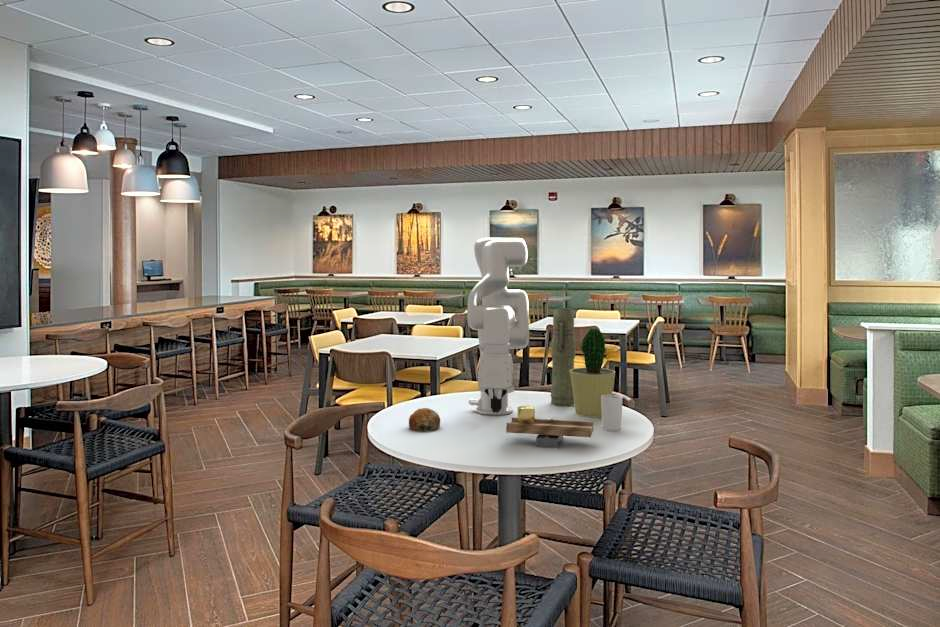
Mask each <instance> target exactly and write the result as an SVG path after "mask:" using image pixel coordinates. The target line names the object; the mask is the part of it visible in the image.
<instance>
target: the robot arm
mask: <svg viewBox="0 0 940 627" xmlns="http://www.w3.org/2000/svg"><path fill="white" fill-rule="evenodd" d="M473 249H474V258H475V261H476V264H477V266H478V269H479V272H480V275H481V279H480V280H479V281H478V282H477V283H476V284H475V285H474V287H473V288H472V289H471V291H470V293H469V295H468V299H467V315H466V316H467V323H468V326H469V327H470V329H471V330H474V331H477V338H478V344H479V345H478V350H479V355H480V356H479V362H478V371H477V374H478V375H477V385H478V388H477V390H478V392H480V398H477V399H475V398H469V399H468V405H470V406H477V407H476V408H475V412H476V413H478V414H480V415H487V416H504V415H509V414H511V413H513V407H511V406H510V405H509V394H512V393H515V386H514V385H515V372H514V362H513V356H512V354H511V353H510V350H515V349H516V350H519V349H525V348H526V347H527V346H528V345H529V340H530V318H529V317H530V314H529V313H530V308H529V298H528V294H527V293H526V291H524V290H522V289H508V287H507V286H508V285H509V282H510V275H509V274H510V273H509V272H510V271H509V270H510V267H524V266H525V265H526V263H527V262H528V247H527V244H526V241H525V239H523V238H520V237H484V238H480V239H477V240H476V241H475V243H474V248H473ZM479 301H481V303H482V304H481V305H480V304H478V302H479ZM477 304H478V305H477Z"/></svg>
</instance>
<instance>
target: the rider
mask: <svg viewBox="0 0 940 627" xmlns="http://www.w3.org/2000/svg"><path fill="white" fill-rule="evenodd" d="M517 418H518V423H521V424H535V419H536V408H535V406H532V405H531V406H530V405H520V406H517Z"/></svg>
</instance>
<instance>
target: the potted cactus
mask: <svg viewBox="0 0 940 627" xmlns="http://www.w3.org/2000/svg"><path fill="white" fill-rule="evenodd" d="M604 335H605V334H604V332H603V331H601V329H598V328H592V327H590V329H588V330H586V331H585V332H584V336H583V338H582V341H581V342H580V349H581V350H580V351H581V352H580V353H582V354H581V356H582V358H583V359H582V362H583V364H584V366H585V367H577V368H574V369H571V370H570V375H571V382H572V390H573V397H574V405H573V406H574V411H575V415H577V416H581V417H585V418H602V409H601V396H602V395H613V390H614V384H615V377H616V371H615V370H613V369H611V368H609V369H608V368H604V367H603V364H604V360H605V359H606V358H607V357H605V354H606V353H607V349H608V347H607V346H606V336H604ZM607 354H608V353H607Z"/></svg>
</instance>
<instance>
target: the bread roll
mask: <svg viewBox="0 0 940 627" xmlns="http://www.w3.org/2000/svg"><path fill="white" fill-rule="evenodd" d="M408 427H409V429H410V430H411V431H414V432H415V431H416V432H429V431H430V432H431V431H436V430H438V429H439V428H440V427H441V418H440V415H439V414H438V412H436V411H435V410H433V409H431V408H429V407H422V408H418V409H417V410H415V411H414V412H413V413H412V414H410V415H409V418H408Z"/></svg>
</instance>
